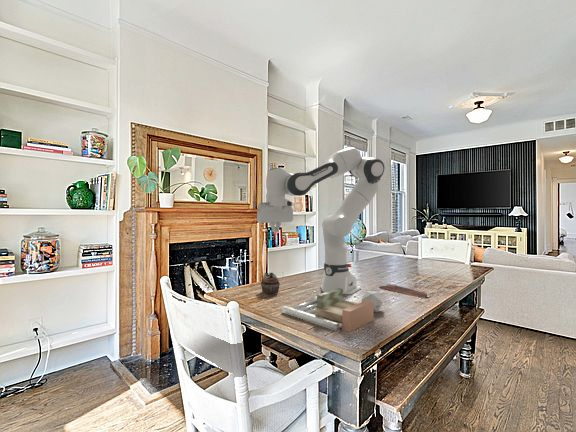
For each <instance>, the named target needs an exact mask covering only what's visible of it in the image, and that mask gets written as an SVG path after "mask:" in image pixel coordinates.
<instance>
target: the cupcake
mask: <svg viewBox="0 0 576 432" xmlns="http://www.w3.org/2000/svg"><path fill="white" fill-rule="evenodd" d="M280 283H281V282H280V281H279V278H278V277H277V274H274V272H264V274H263V277H262V280H261V281H260V287H261V291H262V294H263V295H267V296H268V295H270V296H272V295H273V294H274V295H277V294H279V290H280ZM274 295H273V296H274Z"/></svg>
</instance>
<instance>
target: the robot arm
mask: <svg viewBox="0 0 576 432" xmlns="http://www.w3.org/2000/svg"><path fill="white" fill-rule="evenodd" d="M384 172H385V163H384V162H383V161H382V160H381V159H379V158H377V157H371V156H362V155H361V153H360V151H359V149H357V148H355V147H347V148H343V149H341V150H338V151H336V152H334V153H332V154H331V155H329V156H327V157H326V158H324V159H323V161H322V164H321V165H320V166H317V167H315V168H314V169H311V170H310V171H307V172H296V173H291V172H288V170H286V169H284V167H279V166H278V167H273V168H271V169H269V170H268V171H267V173H266V180H265V181H266V182H265V188H266V195H265V202H263V201H262V202H260V203H258V205H257V214H256V221H257V223H258V224H265V223H266V224H269V226H270V228H271V233H279V231H280V227H281V225H282V223H291V222H292V221H293V220H294V209H293V206H294V202H293V201H291V200H288V199H286V196H287V195H288V196H291V197H292V196H293V197H294V196H295V197H296V196H297V197H301V196H305V195H306V194H308V192H309V191H310V190H311V189H312V188H313V187H314V186H315V185H317V184H319V183H321V182H322V181H324V180H326V179H328V178H337V177H340V176H341V175H345V174H347V173H349V174H350V175H351V176H352V177H354V178H357V179H358V181H357V183H356V185H355V186H354V187H353V188H352V189H351V190H350V192H349V193H348V194H347V195H346V197H344V199H343V200H342V201H341V203H340V206H339V208H337V210H336V212H335V213H334V214H329V215H327V216H326V217H325V218H324V219H323V221H321V222H322V223H321V226H322V233H323V235H322V236H323V242H324V263H323V270H324V272H323V273H322V281H321V285H320V289H321V291H322V293H325V292H328V291H331V290H335V289H338V288H340V289H343V295H353V294H354V293H356V292H358V291H360V290H362V286H360V285H358V283H357V277H356V276H355V275H354V274H353V273H352V272H351V271H350V270H349V268H350V269H351V268H352V263H347V262H348V257H347V256H348V249H347V248H348V247H347V244H346V240H345V237H347V236H349V234H351V232H352V229H353V227H354V225H355V223H356V221H357V220H358V218H359V216H360V214H362V213H363V211H364V210H365V209H366V207H367V206H368V205H369V204H370V202H371V201H372V200H373V199H374V197H375V196H376V194H377V192H378V190H379V184H378V183H379V182H380V180H381V178H382V176H383V175H384Z"/></svg>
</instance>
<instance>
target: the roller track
mask: <svg viewBox="0 0 576 432" xmlns="http://www.w3.org/2000/svg"><path fill="white" fill-rule="evenodd" d="M316 307H317V295H316V296H314V297H313V299H312V300H309V301H305V302H303V303H300V304H297V305H293V306H287V305H283V306H282V309H281V310H282V311H281V313H283V314H284V315H287V314H288V316H290V315H291V317H293V316H294V317H293V318H296V317H297V319H299V318H300V319H299V320H302V319H303V321H305V322H308V323H311V324H315V325H317V326H320V327H323V328H326V329H329V330H332V331H334V332H338V331H340V330H341V329H342V323H341V322H338V321H335V320H331V319H328V318H325V317H322V316H319V315H316V314H315V308H316Z"/></svg>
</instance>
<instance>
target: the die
mask: <svg viewBox="0 0 576 432" xmlns="http://www.w3.org/2000/svg"><path fill="white" fill-rule="evenodd" d="M366 300H368V301H372V302H374V309H373V313H379V312H380V309H381V307H382V305H383V300H382V297H381V293H380V291H374V290H373V291H372V290H366V291H365V293H364V295H363V296H362V298H361V302H363V301H366Z"/></svg>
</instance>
